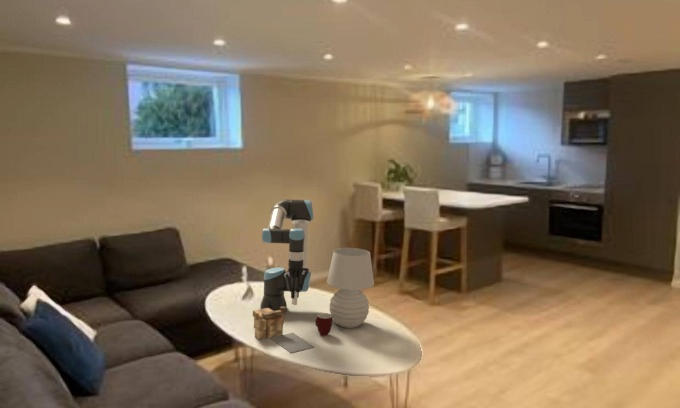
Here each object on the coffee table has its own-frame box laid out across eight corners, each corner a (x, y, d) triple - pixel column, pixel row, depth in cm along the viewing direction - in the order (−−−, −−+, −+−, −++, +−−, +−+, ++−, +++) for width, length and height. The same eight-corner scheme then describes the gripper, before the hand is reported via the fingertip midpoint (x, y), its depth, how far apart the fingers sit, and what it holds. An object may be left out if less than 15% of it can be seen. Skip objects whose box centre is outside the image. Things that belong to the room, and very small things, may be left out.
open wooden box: (267, 324, 272) (268, 302, 270) (282, 334, 259) (283, 312, 257) (244, 329, 264) (245, 306, 263) (259, 340, 251) (259, 316, 250)
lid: (268, 313, 272) (268, 307, 271) (284, 323, 258) (284, 317, 258) (252, 316, 266) (252, 310, 266) (268, 326, 253) (268, 320, 252)
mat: (293, 333, 262) (293, 332, 261) (314, 347, 246) (314, 346, 245) (270, 338, 254) (270, 337, 254) (290, 353, 238) (290, 352, 238)
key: (282, 313, 262) (283, 306, 261) (285, 315, 260) (285, 307, 259) (261, 317, 255) (261, 310, 254) (264, 319, 253) (264, 311, 252)
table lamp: (378, 321, 284) (382, 250, 278) (361, 336, 261) (365, 260, 255) (337, 313, 294) (340, 244, 289) (316, 327, 271) (319, 253, 266)
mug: (309, 333, 263) (309, 314, 261) (319, 329, 269) (320, 310, 267) (324, 339, 256) (325, 319, 255) (335, 334, 262) (335, 315, 261)
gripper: (303, 256, 267) (301, 300, 270) (281, 258, 260) (279, 304, 263) (310, 259, 261) (309, 304, 264) (288, 262, 254) (287, 308, 257)
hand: (294, 304), depth 264 cm, fingers closed
